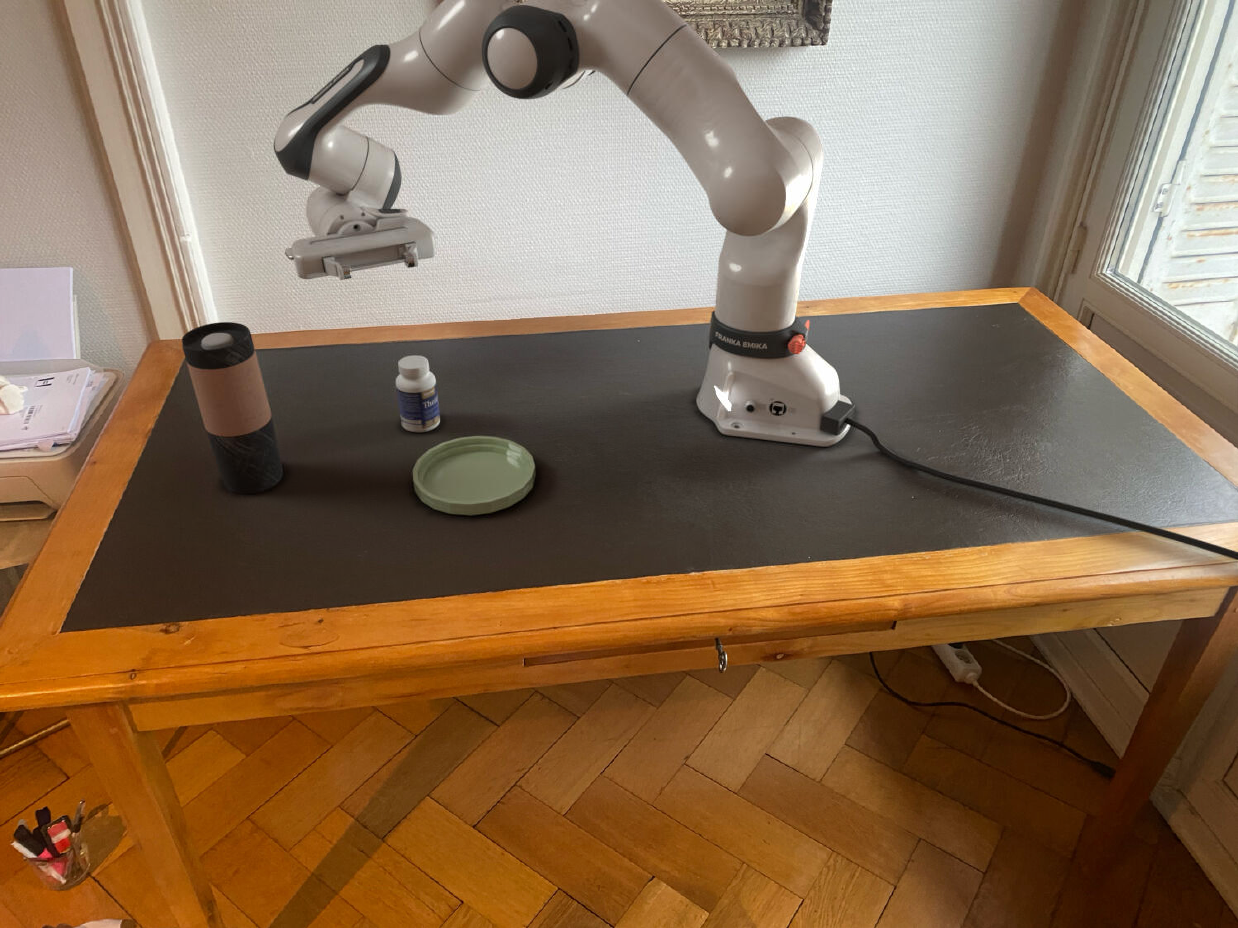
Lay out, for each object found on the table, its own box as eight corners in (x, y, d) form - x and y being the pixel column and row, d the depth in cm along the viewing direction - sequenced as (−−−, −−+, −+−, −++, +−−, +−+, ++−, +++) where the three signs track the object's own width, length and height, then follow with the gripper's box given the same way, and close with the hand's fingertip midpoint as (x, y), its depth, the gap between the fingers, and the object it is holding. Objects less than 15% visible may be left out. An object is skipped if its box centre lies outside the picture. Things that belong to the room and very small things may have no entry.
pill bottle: (432, 435, 122) (424, 373, 116) (395, 431, 123) (386, 368, 117) (446, 416, 126) (439, 354, 121) (410, 412, 127) (402, 351, 122)
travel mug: (297, 468, 115) (264, 327, 104) (259, 500, 109) (220, 355, 98) (248, 456, 117) (211, 317, 106) (208, 488, 111) (164, 344, 100)
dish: (555, 464, 116) (554, 451, 115) (497, 529, 105) (496, 516, 104) (455, 438, 121) (454, 426, 120) (390, 498, 110) (388, 485, 108)
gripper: (277, 227, 127) (298, 259, 117) (415, 206, 135) (446, 234, 125) (286, 269, 130) (307, 303, 120) (420, 246, 138) (451, 276, 128)
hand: (379, 268), depth 122 cm, fingers open, 8 cm apart
